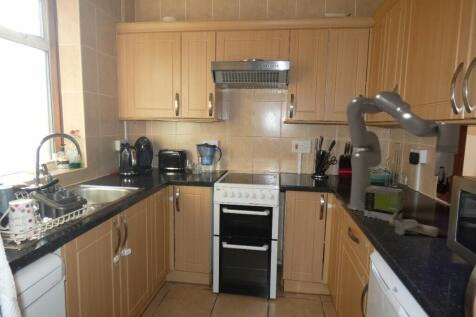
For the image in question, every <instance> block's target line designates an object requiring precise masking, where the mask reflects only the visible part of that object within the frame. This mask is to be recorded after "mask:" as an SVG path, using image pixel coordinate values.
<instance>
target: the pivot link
mask: <svg viewBox="0 0 476 317" xmlns="http://www.w3.org/2000/svg"><path fill="white" fill-rule="evenodd" d="M398 216H399V213H394V215H393V218H390V219H389V221H388V226H390V227H392V228H395V224H396V219H398ZM439 229H440V228H438V227H436V226H431V225H427V224H422V223H418V225H405V230H406V231H410V232H413V233H416V234H417V233H418V234H422V235H425V236H426V235H427V236H429V237H434V238H437V237H438V236H439Z"/></svg>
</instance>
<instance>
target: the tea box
mask: <svg viewBox="0 0 476 317" xmlns="http://www.w3.org/2000/svg"><path fill="white" fill-rule="evenodd" d="M403 205H404V189H401V188H394V187H387V186H378V185H371V186H370V187H368V188H366V192H365V211H363V213H364V217H365V216H367V217H366V218H370V217H372V219H375V218H377V219H376V220H380V219H381V221H385V222H389V219H390V218H393V215H394V213H399V216H398V219H403V208H404V207H403Z"/></svg>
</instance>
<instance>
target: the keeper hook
mask: <svg viewBox="0 0 476 317" xmlns="http://www.w3.org/2000/svg"><path fill="white" fill-rule="evenodd" d="M418 224H419V222H418V220H415V219H413V218H412V219H411V218H410V219H409V218H408V219H405V218H404V219H403V218H402V219H396V224H395V227H394V233H395V232H396V233H395V234H397V233H398V234H399V235H398V234H397V235H398V236H404V235H405V225H418Z"/></svg>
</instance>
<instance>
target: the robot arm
mask: <svg viewBox="0 0 476 317" xmlns="http://www.w3.org/2000/svg"><path fill="white" fill-rule="evenodd" d="M383 112H385V113H387V115H389V116H390V117H392V118H394V119H395V120H396V122H397V123H398V125H399V126H401V128H403V129H404V130H406V131H407V132H409V133H410V134H411V135H413V136H415V137H418V138H435V137H436V144H435V153H436V159H435V165H434V171H433V175H434V177H437V181H436V190H435V191H436V192H435V193H437V194H442V195H446V193H448V192H449V191H450V185H451V184H450V181H451V179H450V178H451V176H452V175H453V171H454V162H455V155H458V152H459V139H460V132H461V123H460V124H445V123H442V122H439V123H436V122H435V121H434V120H435V119H424V118H421V117H420V116H418V115H417V114H415V113H414V112H413V111H412V110H411V105H410V103H408V102H406V101H404V100H403V99H402V96H401V95H400V94H399V93H398V92H396V91H388V90H384V91H382V90H381V91H380V92H378V93H377V94H375V96H374V97H367V96H366V97H365V96H359V97H355V98H353V99H352V100H350V102H349V103H348V105H347V107H346V117H347V122H348V126H349V134H350V135H349V136H350V142H351V146H352V147H353V148H356V149H363V150H358V151H355V152H354V153H353V154H352V156H351V158H350V164H351V188H350V198H349V200H350V203H348V204H347V208H348V209H349V210H352V211H356V210H358V212H365V192H366V188H368V187H370V186H372V185H371V182H372V175H371V170H370V169H371V168H376V167H378V166H379V165H381V163H382V151H381V144H380V143H381V142H380V138H379V135H378V134H377V133H375V132H374V131H372V130H368V128H367V122H366V120H365V118H364V117H363V116H364V115H363V114H367V115H369V114H370V115H374V114H380V113H383Z"/></svg>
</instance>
